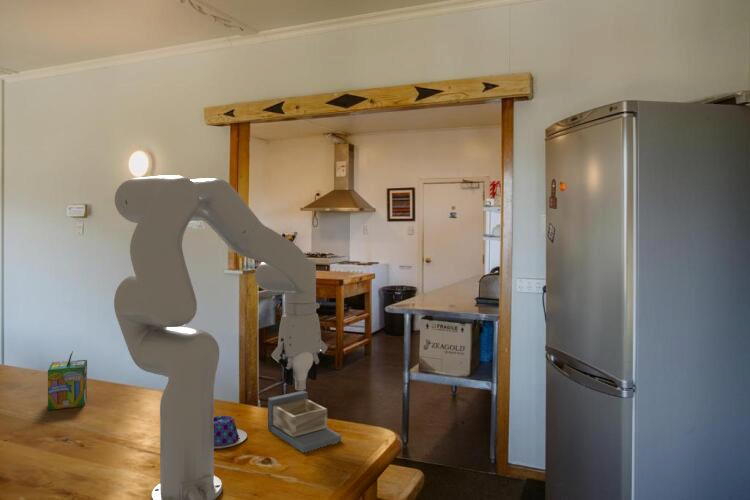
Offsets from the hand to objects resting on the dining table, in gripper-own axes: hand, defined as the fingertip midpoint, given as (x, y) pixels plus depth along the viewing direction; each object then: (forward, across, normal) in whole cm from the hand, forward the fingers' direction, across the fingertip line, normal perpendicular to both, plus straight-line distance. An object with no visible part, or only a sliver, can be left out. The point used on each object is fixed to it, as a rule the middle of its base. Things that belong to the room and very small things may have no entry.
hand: (300, 380), depth 127 cm
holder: (+11, 0, 0) cm, 11 cm away
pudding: (+14, +17, -8) cm, 23 cm away
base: (+13, 0, +2) cm, 13 cm away
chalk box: (+13, +42, -59) cm, 74 cm away
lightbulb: (+3, 0, 0) cm, 3 cm away
